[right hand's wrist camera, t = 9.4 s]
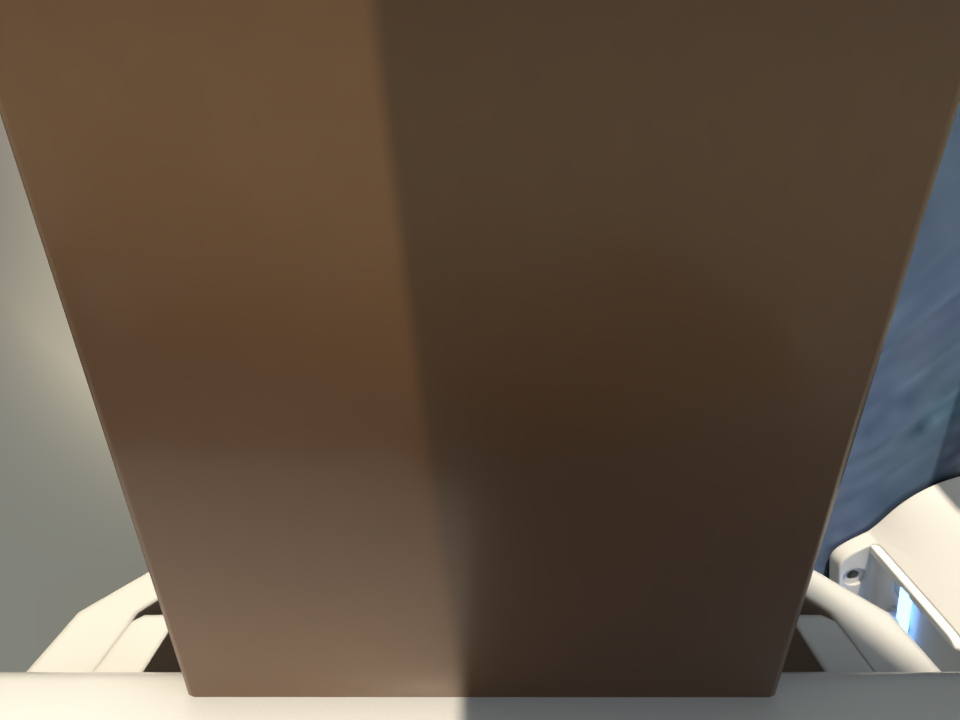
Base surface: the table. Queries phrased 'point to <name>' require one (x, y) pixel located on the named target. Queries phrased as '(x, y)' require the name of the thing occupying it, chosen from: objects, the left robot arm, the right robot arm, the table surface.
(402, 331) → the box
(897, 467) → the table surface
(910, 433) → the table surface
